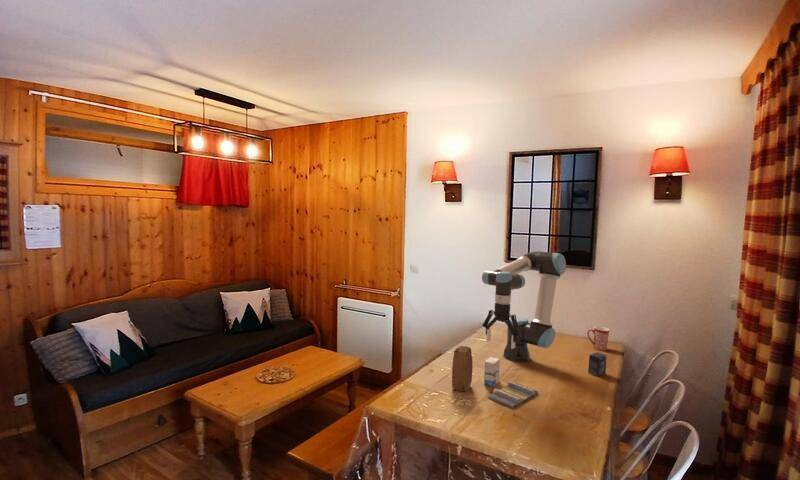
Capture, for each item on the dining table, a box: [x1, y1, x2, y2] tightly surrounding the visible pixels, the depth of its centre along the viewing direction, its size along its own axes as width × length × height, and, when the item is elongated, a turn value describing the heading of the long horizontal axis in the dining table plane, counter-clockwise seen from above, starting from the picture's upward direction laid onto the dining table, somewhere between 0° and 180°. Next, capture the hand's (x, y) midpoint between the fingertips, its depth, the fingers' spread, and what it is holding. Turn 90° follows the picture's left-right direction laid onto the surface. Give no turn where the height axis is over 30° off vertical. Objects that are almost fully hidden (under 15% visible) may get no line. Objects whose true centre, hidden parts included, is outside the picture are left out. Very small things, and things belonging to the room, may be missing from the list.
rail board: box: [487, 381, 539, 410], centre depth 182 cm, size 13×22×3 cm, turn 132°
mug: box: [587, 326, 610, 352], centre depth 251 cm, size 13×9×14 cm
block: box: [451, 345, 474, 392], centre depth 189 cm, size 11×8×20 cm
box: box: [587, 351, 608, 377], centre depth 211 cm, size 8×6×11 cm
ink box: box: [483, 356, 501, 387], centre depth 196 cm, size 9×5×12 cm, turn 145°
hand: (500, 344), depth 195 cm, fingers open, 13 cm apart
